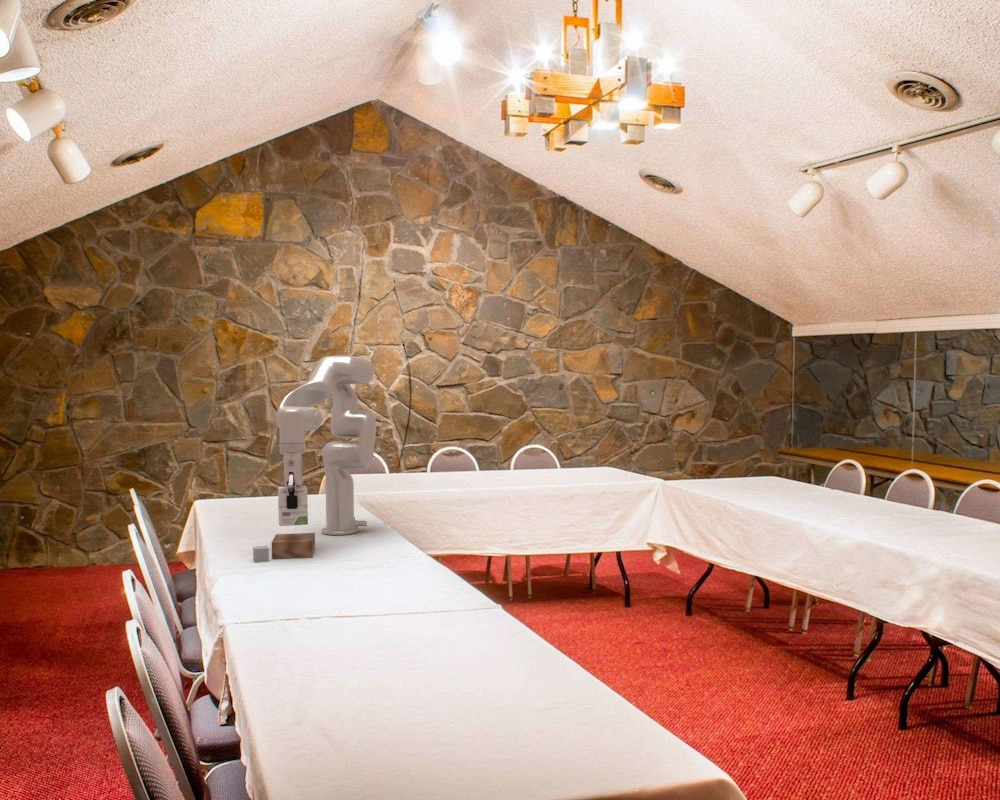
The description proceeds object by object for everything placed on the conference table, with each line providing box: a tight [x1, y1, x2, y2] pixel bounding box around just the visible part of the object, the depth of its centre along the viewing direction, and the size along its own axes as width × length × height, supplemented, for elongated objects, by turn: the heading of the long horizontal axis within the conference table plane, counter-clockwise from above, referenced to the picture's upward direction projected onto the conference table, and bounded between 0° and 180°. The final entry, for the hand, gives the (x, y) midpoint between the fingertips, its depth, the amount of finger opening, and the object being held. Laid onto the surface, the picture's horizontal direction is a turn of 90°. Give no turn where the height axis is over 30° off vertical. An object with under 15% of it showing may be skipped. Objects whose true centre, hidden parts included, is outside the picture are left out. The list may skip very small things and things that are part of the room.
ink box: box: [277, 485, 309, 527], centre depth 282 cm, size 8×5×12 cm, turn 108°
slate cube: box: [252, 545, 270, 563], centre depth 274 cm, size 4×4×4 cm
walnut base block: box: [271, 532, 316, 560], centre depth 283 cm, size 12×13×5 cm
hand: (293, 506), depth 282 cm, fingers closed on ink box, 5 cm apart
